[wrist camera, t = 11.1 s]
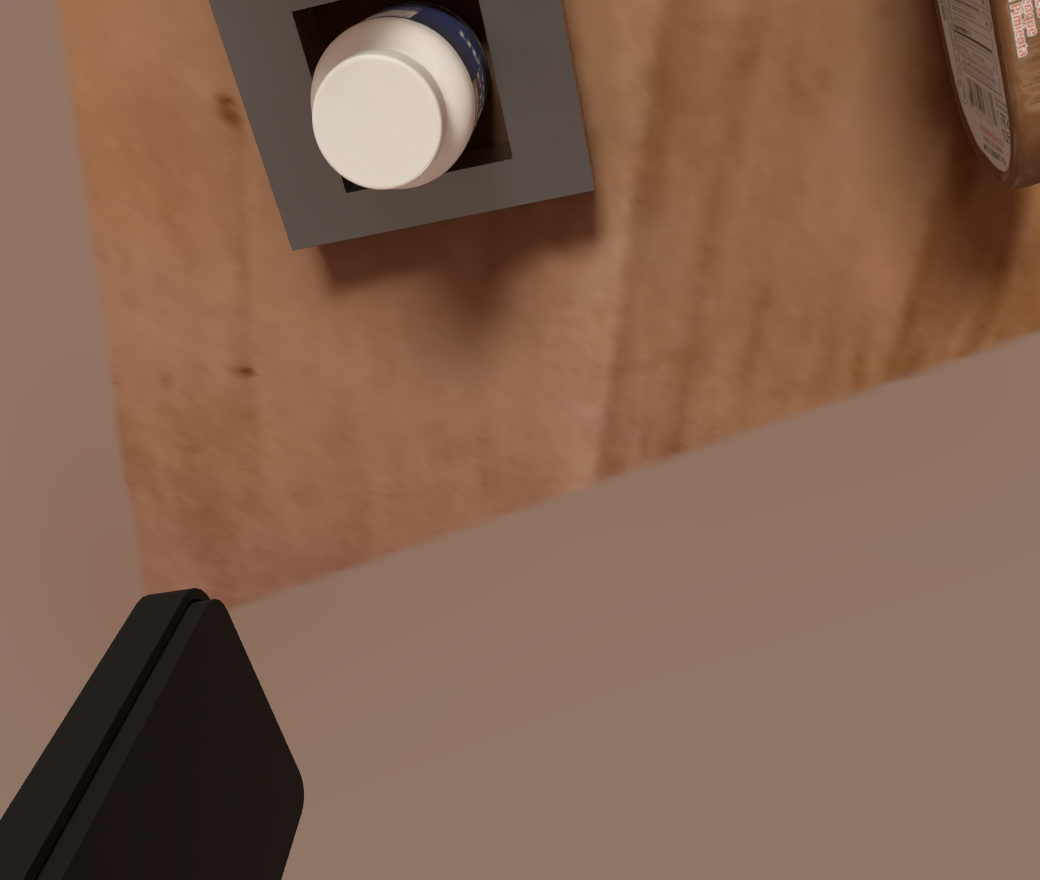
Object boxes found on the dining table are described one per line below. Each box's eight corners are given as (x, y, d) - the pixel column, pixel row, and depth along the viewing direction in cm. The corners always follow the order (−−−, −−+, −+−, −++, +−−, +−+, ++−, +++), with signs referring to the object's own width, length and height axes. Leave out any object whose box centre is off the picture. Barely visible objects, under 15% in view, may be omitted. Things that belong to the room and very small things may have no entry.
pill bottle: (508, 123, 39) (489, 187, 30) (382, 162, 40) (328, 235, 31) (464, -22, 36) (430, 3, 28) (331, 24, 37) (258, 62, 29)
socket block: (543, -109, 35) (541, -109, 32) (593, 170, 39) (594, 190, 37) (227, -31, 37) (200, -25, 34) (310, 227, 41) (292, 250, 39)
